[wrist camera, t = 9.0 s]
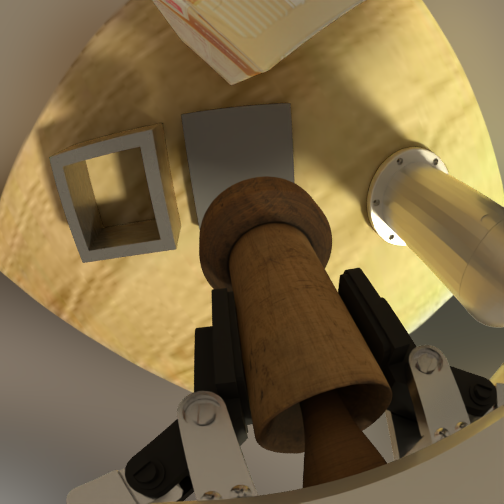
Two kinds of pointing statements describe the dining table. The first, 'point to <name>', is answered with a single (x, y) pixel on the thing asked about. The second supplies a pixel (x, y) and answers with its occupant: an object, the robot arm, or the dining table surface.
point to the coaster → (236, 148)
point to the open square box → (85, 208)
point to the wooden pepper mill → (294, 328)
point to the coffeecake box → (248, 30)
